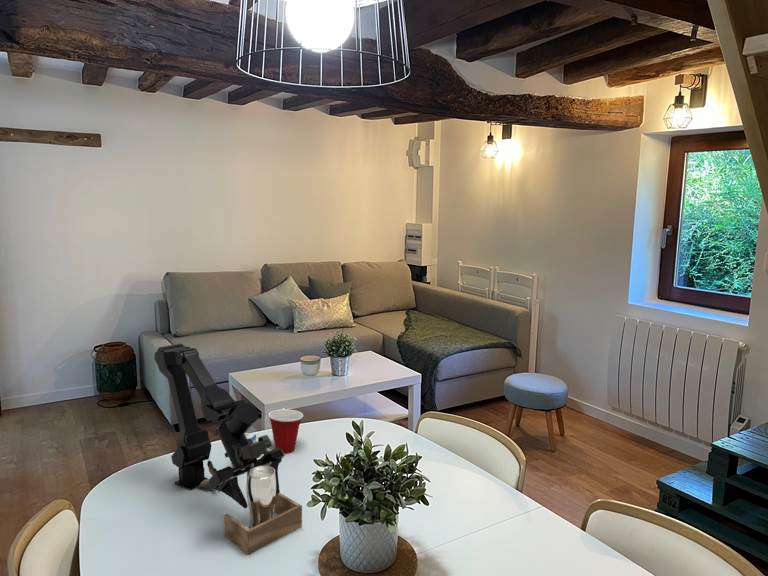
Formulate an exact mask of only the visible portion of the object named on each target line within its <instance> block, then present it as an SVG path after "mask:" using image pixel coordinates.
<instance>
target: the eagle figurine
mask: <svg viewBox="0 0 768 576" xmlns="http://www.w3.org/2000/svg"><path fill="white" fill-rule="evenodd" d="M206 462H207V463H206V465H207V468H208V472H209V473H210V475H211V477H212V476H213V475H214V473H215V472H216V471H218V470H217V468H216V467H215V466H214V465H213V461H211V460H210V459H208V461H206ZM209 480H210V478H208V479H207V480H204V481H202V482H201V484H199V485H198V486H197V487H196V488H197V489H200V488H206V489H207V488H210V486H209Z"/></svg>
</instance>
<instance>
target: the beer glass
mask: <svg viewBox="0 0 768 576" xmlns="http://www.w3.org/2000/svg"><path fill="white" fill-rule="evenodd" d="M246 473H247V475H246V485H245V486H246V487H245V488H246V490H245V491H246V502H247V505H248V510H249V517H250V519H249V527H248V528H249V529H251V528H253V527H255V526H257V525H259V524H261V523H263V522H265V521H267V520H269V519H271V518H273V517H274V515H273V513H274V503H275V497H276V475H275V469H274V468H272V467H270V466H256V467H253V468H251V469H249V470H248V472H246Z"/></svg>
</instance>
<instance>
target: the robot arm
mask: <svg viewBox="0 0 768 576" xmlns="http://www.w3.org/2000/svg"><path fill="white" fill-rule="evenodd" d="M153 357H154V361H155V363H156V365H157V367H158V370H159V372H160V373H161V374H162V375H163V376H164V377H165V378H166V379H167V381H168V386H169V389H170V395H171V397H172V402H173V406H174V411H175V414H176V419H177V423H178V428H179V433H178V434H177V438H176V449H175V451H174V452H173V453H172V454H171V462H172V464H173V465H174V466H176V467H177V468H178V479H177V480H176V481H174V485H176V486H178V487H182V488H184V489H188V490H194V489H195V488H197V486H198V485H199V484H201V482H202V481H204V480H207V479H210V480H209V486H210V487H209V488H210V490H211V492H213V491H214V492H215V491H216V490H217V492H218V493H220V492H221V493H224V494H225V495H226V496H228V497H229V498H231V499H232V500H234V501H235V502H236V503H238V505H240V506H241V507H242V508H244V509H247V508H249V506H248V501H247V498H246V497H245V495H244V493H243V491H242V489H241V488H240V486H239V481H238V477H239V476H241V475H243V474H245V473H247V472H248V470H249V469H251V468H253V467H256V466H270V467H272V468H274V469H275V475H276V494H278V493H281V492H280V491H281V490H280V484H279V483H280V481H279V473H278V472H279V465H280V464H281V463H282V460H283V459H284V457H285V454H284V453H283V451H282V450H281V449H280V448H275V447H274V449H270V448H271V447H272V446H273V445H272V441H271V439H270V437H269V435H267V434H264V435H262V436H259V437H257V441H256V442H255V443H253V441H252V440H251V439H250V438H249V439H247V437H246V435H245V433H248V431H249V430H250V428H251V427H252V426H253V425H254V424H255V423H256V422H257V420H258V419H259V411H258V409H257V408H256V406H254V405H253V404H251V403H249V402H246V401H245V399H244V398H241V399H238V400H235V399H234V398H233V397H232V396H231V395H230V393H229V392H228V391H227V390H226V389H223V388H222V387H220V386H219V385H217V383H216V382H215V380H214V378H213V376H212V375H211V373H210V371H208V368H207V367H206V365H205V364H204V362H203V360H202V359H201V358H200V353H199V351H198V348H196V347H192V346H186V345H184V344H182V343H180V342H179V343H176V344H169V345H165V346H159V347H158V348H157V350H156V352H155V353H154V356H153ZM188 378H189V381H190V382H191V384H192V386H193V387H194V389H195V390H196V392H197V394H198V396H199V398H200V409H201V411H202V415H203V417H204V419H206V421H207V422H208V423H213V424H214V423H217V422H220V421H221V422H220V423H219V424H216V425H215V430H214V433H213V435H214V437H219V439H220V441H221V443H222V446H223V447H224V451H225V453H224V457H225V459H228V458H229V461H230V462H231V466H229V465H228V466H225V467H223V468H220V469H218V470H217V471H216V472H215V473H214V475H213V476H212V475H211V476H210V478H208V477H206V476H205V467H204V461H207V460H210V456H211V451H212V442H211V441H210V436H209V432H208V430H207V429H206V428H205V429H203V427H201V426H200V425H199V422H198V419H197V414H196V410H195V406H194V402H193V397H192V394H191V390H190V385H189V382H188ZM268 449H270V450H268ZM258 458H259V459H258ZM232 465H233V468H232ZM250 466H251V467H250ZM243 469H244V470H243ZM241 470H242V471H241Z"/></svg>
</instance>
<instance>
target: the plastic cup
mask: <svg viewBox="0 0 768 576" xmlns="http://www.w3.org/2000/svg"><path fill="white" fill-rule="evenodd" d="M267 416H268V418H269V420H270V425H271V429H272V431H271V432H272V438H273V441H274V449H275V448H280V449H281V450H282V451H283V453H284V455H285V454H291V453H293V452H294V451H295V447H296V445H297V444H296V443H297V439H298V433H299V429H300V424H301V420H302V419H303V417H304V414H303V412H301V411H298V410H294V409H287V408H286V409H285V408H284V409H276V410H275V409H274V410H272V411H270V412H268V415H267Z"/></svg>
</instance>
